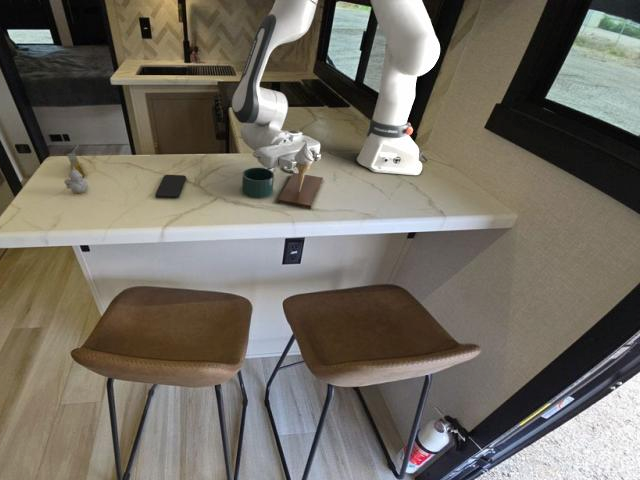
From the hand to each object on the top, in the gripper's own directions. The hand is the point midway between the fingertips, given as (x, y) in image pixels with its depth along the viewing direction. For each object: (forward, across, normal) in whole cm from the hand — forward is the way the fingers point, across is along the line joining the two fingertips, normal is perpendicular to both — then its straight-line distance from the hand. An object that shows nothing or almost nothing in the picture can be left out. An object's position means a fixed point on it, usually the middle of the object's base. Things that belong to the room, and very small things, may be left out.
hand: (306, 161), depth 97 cm
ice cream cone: (-1, 0, +10) cm, 10 cm away
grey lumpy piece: (-38, -57, +11) cm, 69 cm away
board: (-3, +2, +11) cm, 11 cm away
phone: (-26, -32, +11) cm, 42 cm away
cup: (-10, -10, +11) cm, 18 cm away
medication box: (-54, -53, +11) cm, 76 cm away
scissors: (-24, +10, +11) cm, 29 cm away
